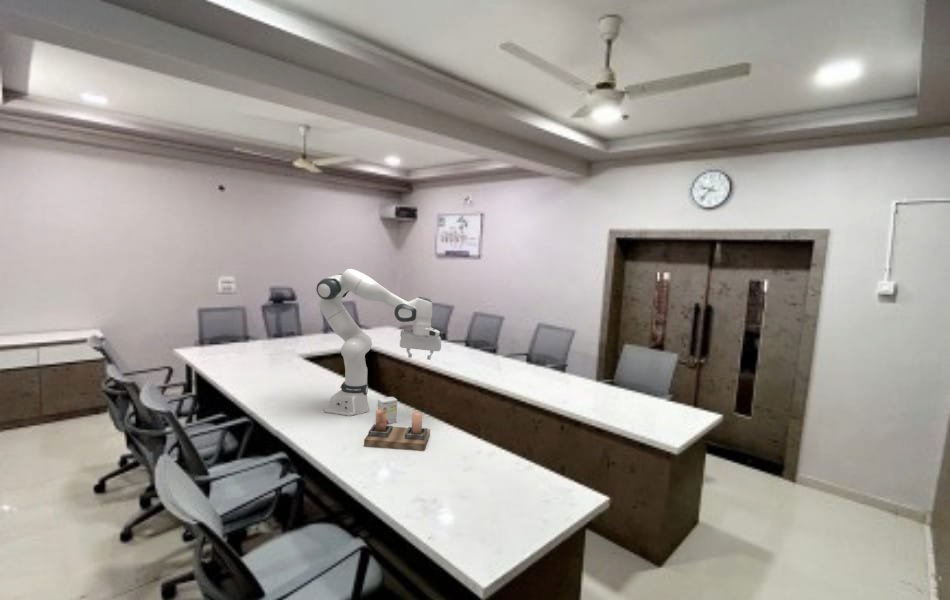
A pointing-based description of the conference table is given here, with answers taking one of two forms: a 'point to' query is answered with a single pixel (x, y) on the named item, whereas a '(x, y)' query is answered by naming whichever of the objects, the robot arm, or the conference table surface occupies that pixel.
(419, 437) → the build base
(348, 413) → the robot arm
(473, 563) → the conference table surface
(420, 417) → the terracotta pillar
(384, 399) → the ink box
